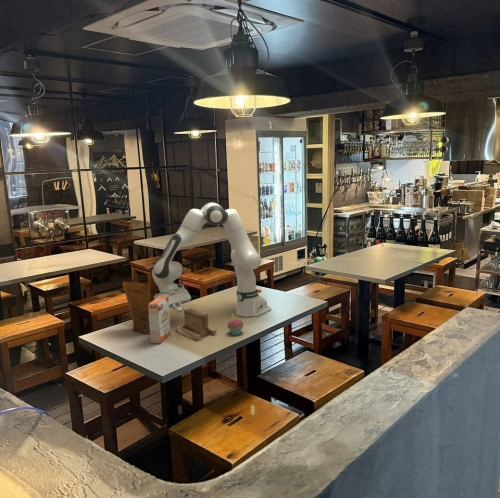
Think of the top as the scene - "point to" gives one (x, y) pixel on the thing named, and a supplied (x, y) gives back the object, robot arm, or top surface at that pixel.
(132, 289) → the pancake mix bag
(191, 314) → the block
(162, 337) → the cracker box
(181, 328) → the chute
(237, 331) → the cupcake
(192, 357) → the top surface
